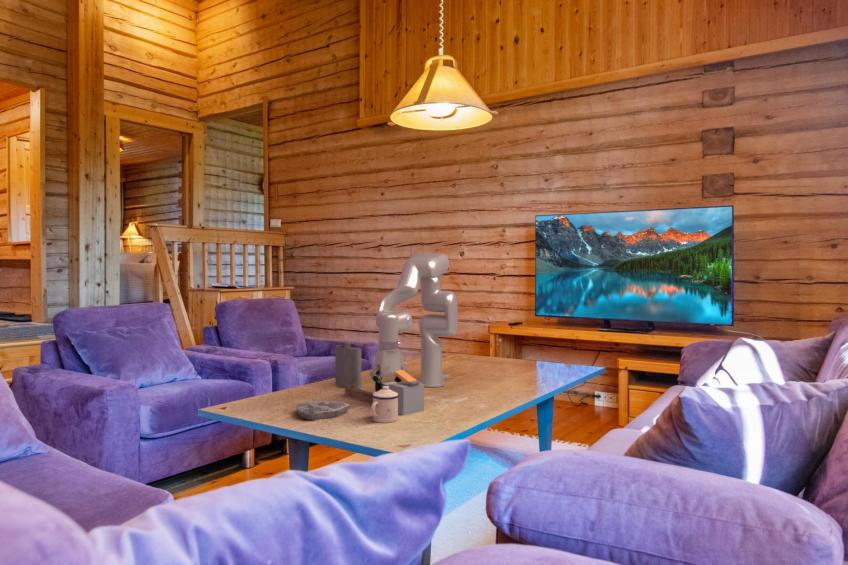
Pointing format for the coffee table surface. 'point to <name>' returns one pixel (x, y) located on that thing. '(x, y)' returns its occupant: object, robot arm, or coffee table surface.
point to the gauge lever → (406, 378)
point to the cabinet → (409, 397)
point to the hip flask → (347, 365)
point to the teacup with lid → (385, 405)
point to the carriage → (387, 383)
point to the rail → (358, 393)
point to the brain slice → (321, 409)
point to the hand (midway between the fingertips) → (388, 390)
